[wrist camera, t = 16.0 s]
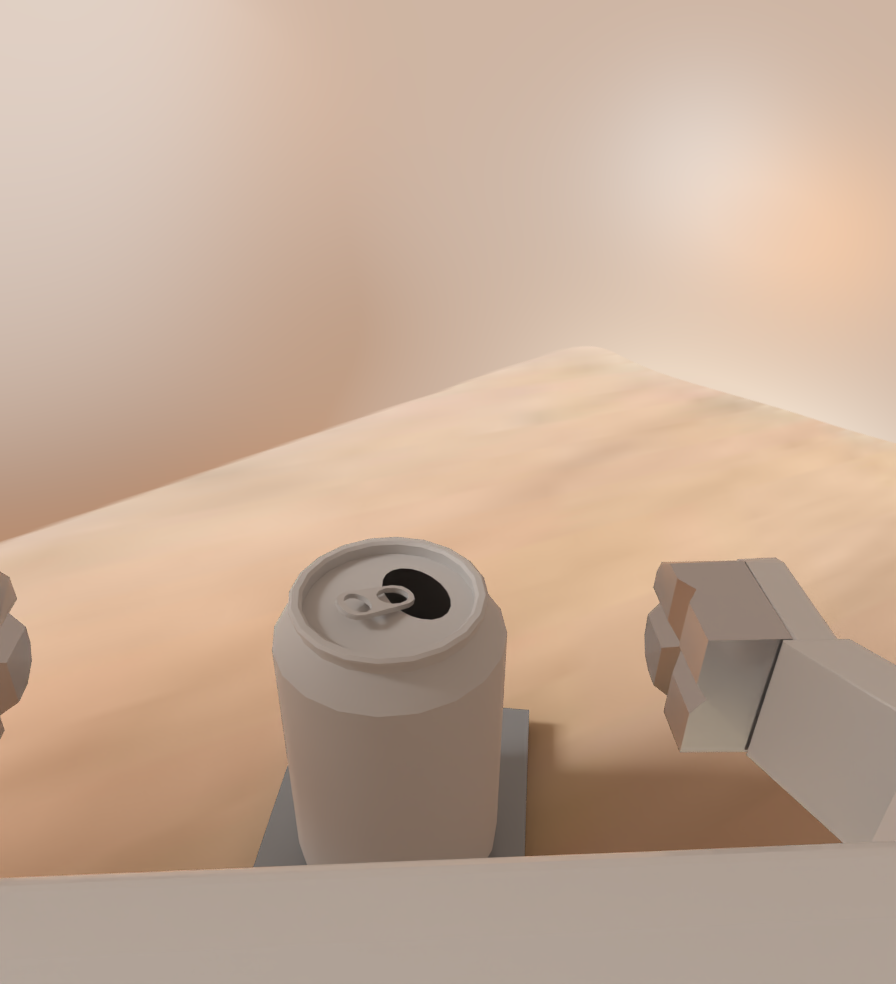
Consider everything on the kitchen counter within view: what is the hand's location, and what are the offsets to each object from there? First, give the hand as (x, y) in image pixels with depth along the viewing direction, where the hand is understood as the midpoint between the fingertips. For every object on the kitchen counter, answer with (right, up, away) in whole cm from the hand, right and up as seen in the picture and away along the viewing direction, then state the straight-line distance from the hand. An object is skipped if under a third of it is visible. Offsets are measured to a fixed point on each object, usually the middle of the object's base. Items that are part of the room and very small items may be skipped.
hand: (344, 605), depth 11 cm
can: (-1, -12, +21) cm, 25 cm away
